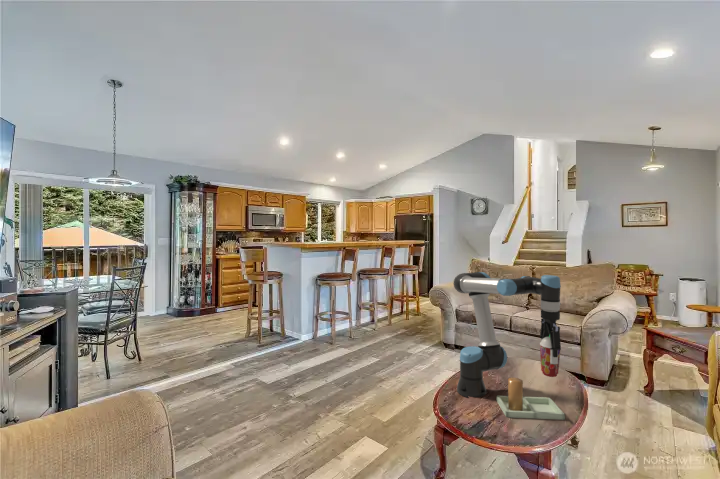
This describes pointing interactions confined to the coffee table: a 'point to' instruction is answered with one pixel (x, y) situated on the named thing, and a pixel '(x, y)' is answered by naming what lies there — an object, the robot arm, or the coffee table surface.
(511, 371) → the coffee table surface
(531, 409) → the green divided tray
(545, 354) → the smoothie
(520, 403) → the tan rounded capsule
